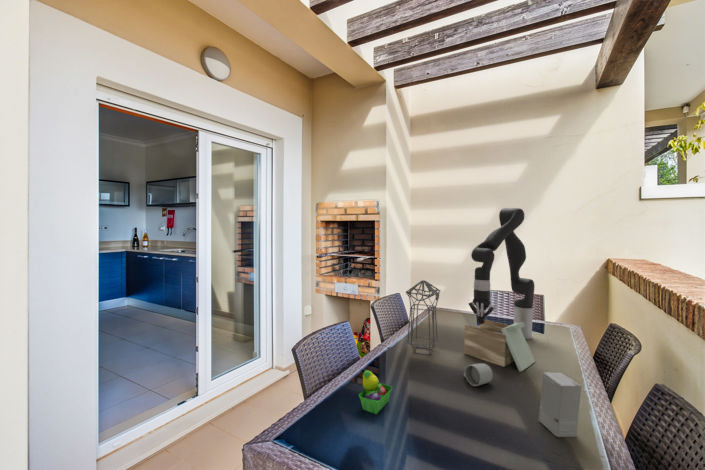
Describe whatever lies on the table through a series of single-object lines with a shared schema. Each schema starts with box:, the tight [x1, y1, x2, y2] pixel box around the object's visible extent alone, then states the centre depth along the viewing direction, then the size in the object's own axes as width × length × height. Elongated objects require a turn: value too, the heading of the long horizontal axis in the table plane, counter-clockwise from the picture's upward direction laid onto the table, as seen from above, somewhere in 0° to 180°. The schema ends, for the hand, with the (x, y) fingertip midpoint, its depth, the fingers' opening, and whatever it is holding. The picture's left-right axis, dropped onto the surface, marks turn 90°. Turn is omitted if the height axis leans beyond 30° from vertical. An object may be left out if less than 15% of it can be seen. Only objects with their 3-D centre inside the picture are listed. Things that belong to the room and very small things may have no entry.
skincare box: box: [538, 371, 582, 438], centre depth 95 cm, size 8×7×16 cm
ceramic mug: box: [463, 363, 494, 387], centre depth 124 cm, size 11×8×8 cm
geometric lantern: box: [405, 279, 441, 356], centre depth 155 cm, size 16×16×35 cm
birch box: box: [463, 319, 521, 368], centre depth 151 cm, size 17×19×14 cm
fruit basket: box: [358, 369, 393, 415], centre depth 107 cm, size 11×9×11 cm
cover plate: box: [501, 322, 536, 373], centre depth 140 cm, size 15×18×5 cm
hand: (481, 323), depth 155 cm, fingers closed
